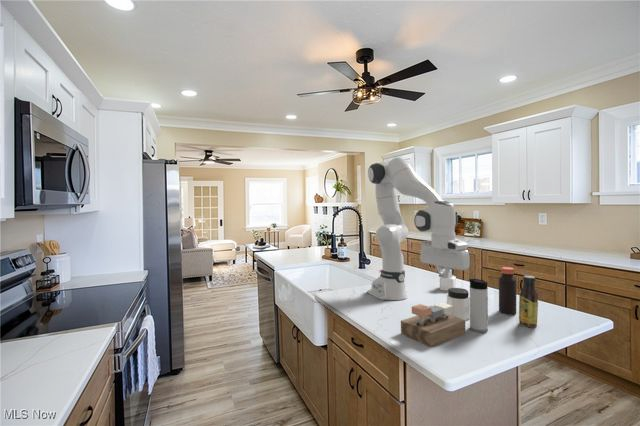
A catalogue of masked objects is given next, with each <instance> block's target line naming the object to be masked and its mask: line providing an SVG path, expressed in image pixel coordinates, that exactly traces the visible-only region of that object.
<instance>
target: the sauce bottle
mask: <svg viewBox="0 0 640 426" xmlns="http://www.w3.org/2000/svg"><path fill="white" fill-rule="evenodd" d="M522 278H523V279H522V280H523V286H522V288H521V291H520V293H519V296H518V297H519V298H518V299H519V301H518V304H519V305H518V322H519V324H520V325H521V326H524V327H526V328H536V327H537V326H538V311H539V310H538V309H539V308H538V307H539V301H538V300H539V294H538V292H537V290H536V287H535V285H536V283H535V282H536V277H535V276H533V275H527V274H526V275H523V276H522Z"/></svg>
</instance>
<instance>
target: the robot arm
mask: <svg viewBox="0 0 640 426" xmlns="http://www.w3.org/2000/svg"><path fill="white" fill-rule="evenodd" d="M367 177H368V179H369V182H370V183H371V184H373V185H375V191H374V192H375V200H376V205H377V211H378V215H379V216H380V218H381V219H382V222H383V225H382V226H380V227H378V229H377V230H376V232H375V239H376V241H377V242H378V244H379V248H380V251H381V259H382V261H381V263H382V269H380V270H378V272H379V276H378V277H377V278H375V279H374V280H373V281H372V283H371V288H370V289H367V291H366V293H367V294H368V295H369V294H370V295H371V296H373V297H375V298H377V299H379V300H381V301H382V300H383V301H385V300H386V301H388V300H389V301H402V300H405V299H407V298H408V294H407V289H406V281H405V278H406V271H405V260H404V257H405V256H404V254H403V252H402V249H401V243H403V242H404V241H405V240H406V239H407V238H408V236H409V228H408V227H407V226H406V224H405V221H404V218H403V216H402V214H401V209H400V205H399V200H398V199H399V198H398V194H397V191H398V192H399V194H401V195H403V196H407V197H408V196H409V197H414V198H417V199H420V200H422V201H423V202H425V203H426V204H427V205H428V206H427V207H424V208H422V209H420V210H418V211H416V213H415V215H414V225H415V228H416V229H417V230H418V231H419V232H421V233H431V236H430V237H431V238H430V239H431V240H423V241H422V242H421V244H420V245H421V248H420V252H419V253H420V254H419V260H420V262H421V263H423V264H426V265H427V264H428V265H432V266H433V265H434V266H435V269H436V271H437V272H438V277H439V278H440V277H442V278H448V273H449V271H450V270H451V269H453V270H459V271H468V269H469V268H470V267H471V264H470V261H471V258H470V253H469V251H468V250H467V249H468V248H469V244H468V243H467V242H465V241H463V240H460V239H459V238H457V237H456V235H457V233H456V232H455V229H456V227H457V226H458V223H459V218H458V215H457V213H456V210H455V206H454V205H455V204H453V203H452V202H450V201H446V200H443V199H442V198H441V197H440V195H439V194H438V193H437V192H436V191H435V189H434V188H433V187H431V185H429V184H428V183H426V181H424V180H423V179H422V178H421V177H420V176H419V175H418V174H417V173H416V171H415V170H414V168H413V167H412V166H411V164H410V163H409V162H408V161H407V160H406V159H404V158H403V157H401V156H400V157H394V158H392V159H390V160H387V161H382V162H376V163H372V164H371V165H369V168H368V170H367ZM443 268H444V270H445V272H443V271H442V269H443Z"/></svg>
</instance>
